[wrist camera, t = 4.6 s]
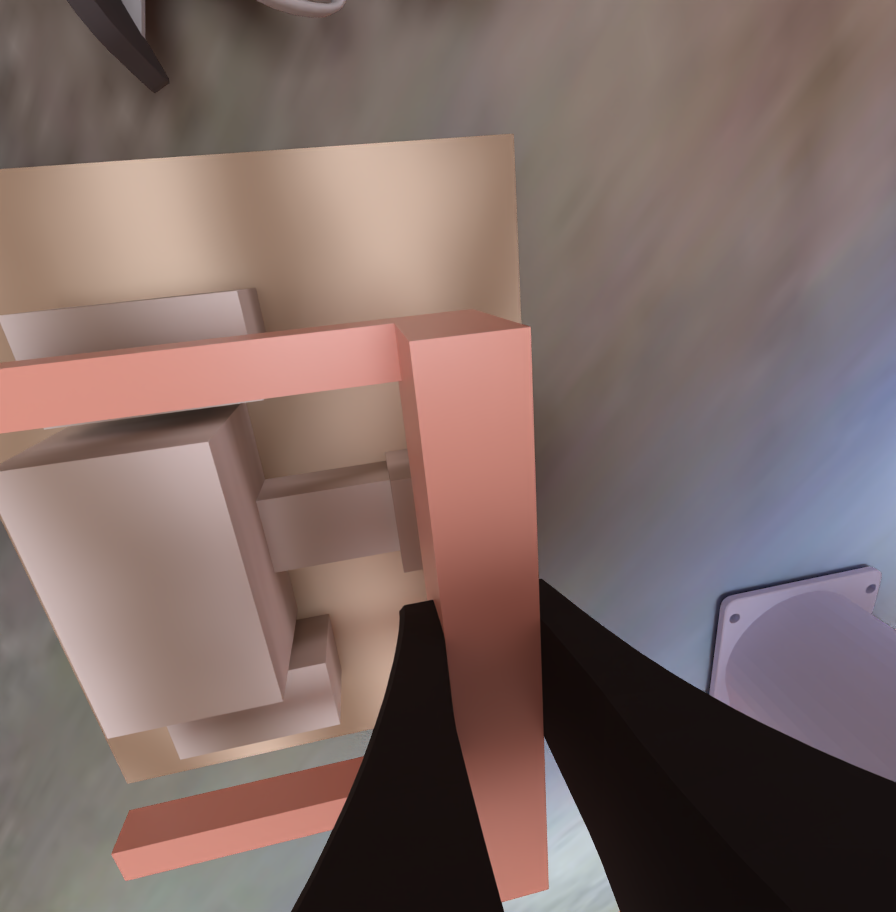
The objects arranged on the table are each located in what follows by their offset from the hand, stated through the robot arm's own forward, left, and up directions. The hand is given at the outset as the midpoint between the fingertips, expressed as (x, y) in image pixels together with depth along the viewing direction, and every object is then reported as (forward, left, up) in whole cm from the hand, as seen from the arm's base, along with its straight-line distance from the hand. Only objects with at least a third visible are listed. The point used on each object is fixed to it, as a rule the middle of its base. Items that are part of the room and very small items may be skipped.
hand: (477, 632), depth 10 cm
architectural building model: (0, +4, -8) cm, 10 cm away
